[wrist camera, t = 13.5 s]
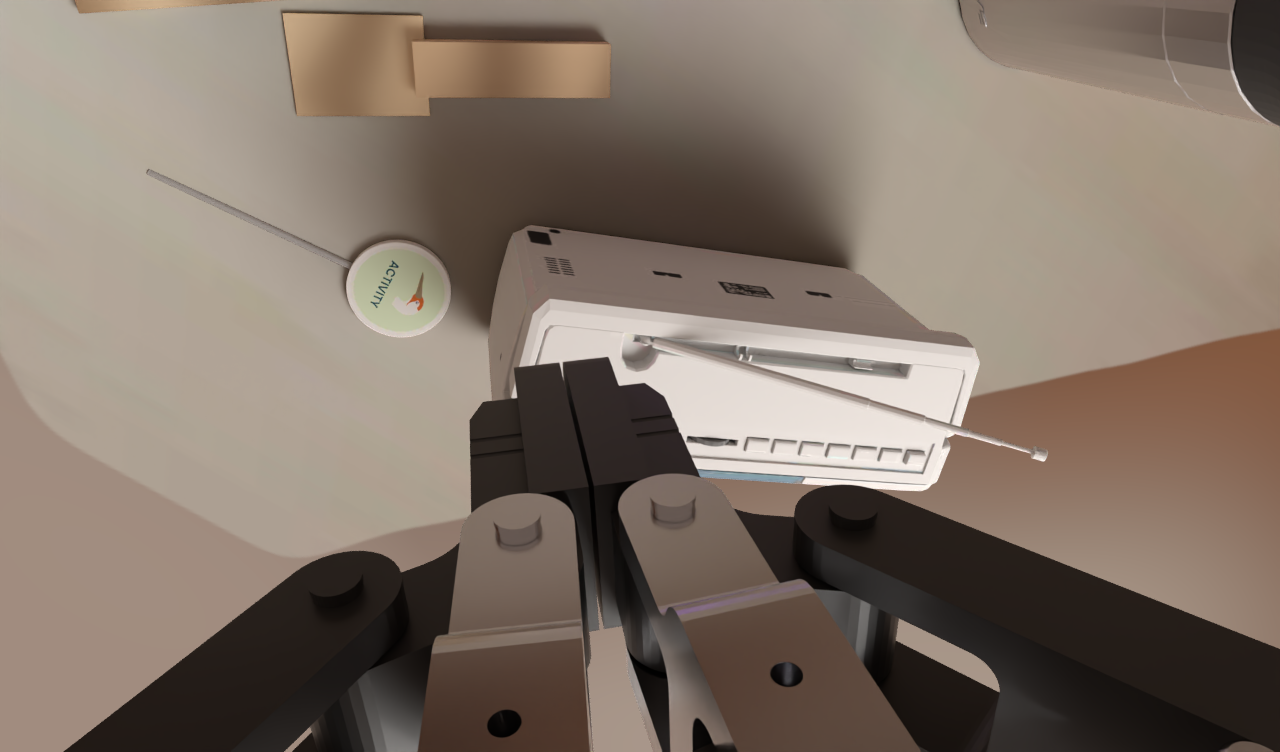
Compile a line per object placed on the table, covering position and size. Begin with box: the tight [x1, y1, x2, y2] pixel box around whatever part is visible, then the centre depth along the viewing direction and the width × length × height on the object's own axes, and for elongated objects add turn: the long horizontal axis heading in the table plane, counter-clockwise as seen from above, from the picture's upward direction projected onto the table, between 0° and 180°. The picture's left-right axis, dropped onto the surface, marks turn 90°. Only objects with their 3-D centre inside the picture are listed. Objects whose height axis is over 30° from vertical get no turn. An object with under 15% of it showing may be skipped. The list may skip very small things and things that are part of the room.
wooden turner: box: [282, 13, 611, 116], centre depth 40 cm, size 14×4×2 cm, turn 88°
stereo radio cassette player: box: [488, 225, 1048, 491], centre depth 39 cm, size 21×8×20 cm, turn 79°
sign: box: [147, 169, 451, 337], centre depth 42 cm, size 5×1×15 cm
